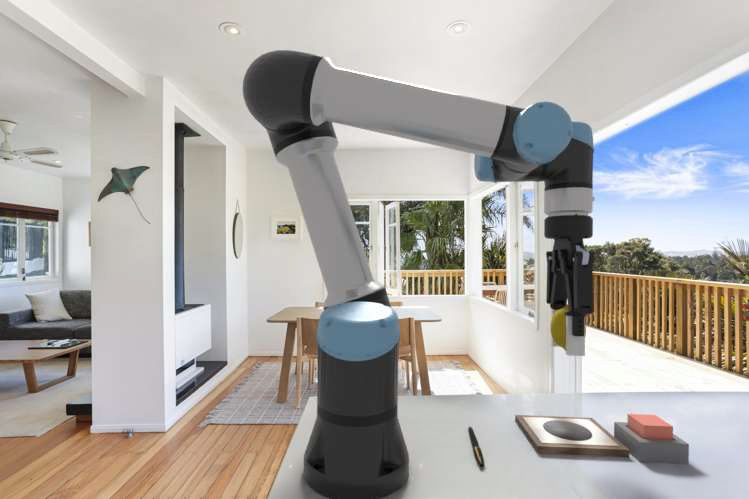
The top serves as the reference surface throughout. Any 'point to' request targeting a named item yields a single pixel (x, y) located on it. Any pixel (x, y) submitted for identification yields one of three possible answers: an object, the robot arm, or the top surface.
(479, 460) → the fountain pen
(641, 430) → the button
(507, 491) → the top surface
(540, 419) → the board
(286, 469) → the top surface
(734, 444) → the top surface
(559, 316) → the lemon
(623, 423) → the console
